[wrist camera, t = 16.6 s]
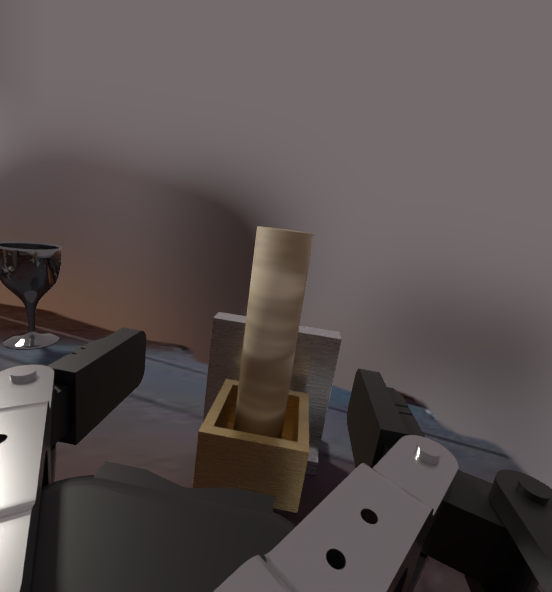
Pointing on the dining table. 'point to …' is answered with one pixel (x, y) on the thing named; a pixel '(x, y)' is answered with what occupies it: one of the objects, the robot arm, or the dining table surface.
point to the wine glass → (29, 284)
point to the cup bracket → (256, 448)
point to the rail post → (271, 329)
